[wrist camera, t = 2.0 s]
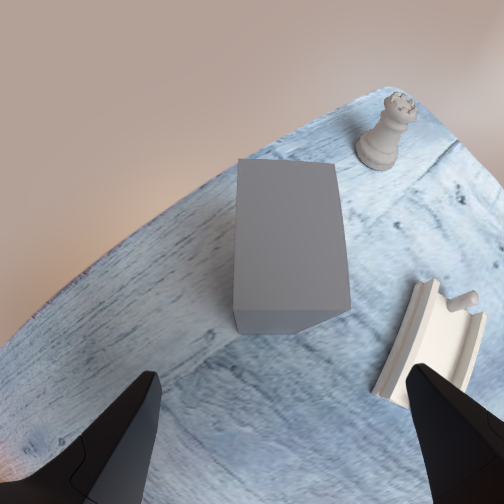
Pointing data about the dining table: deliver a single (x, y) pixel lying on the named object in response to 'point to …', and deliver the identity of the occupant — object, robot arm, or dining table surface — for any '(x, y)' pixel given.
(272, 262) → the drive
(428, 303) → the tray
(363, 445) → the dining table surface
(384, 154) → the rook chess piece
